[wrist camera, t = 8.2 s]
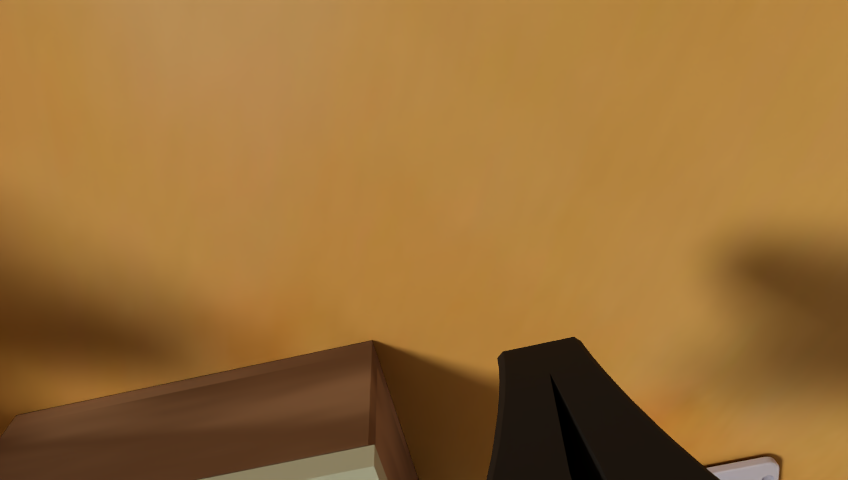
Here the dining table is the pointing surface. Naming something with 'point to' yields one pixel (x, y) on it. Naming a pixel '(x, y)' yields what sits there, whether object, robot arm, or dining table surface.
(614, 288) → the dining table surface
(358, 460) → the lid
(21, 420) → the walnut box
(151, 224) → the dining table surface
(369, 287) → the dining table surface
